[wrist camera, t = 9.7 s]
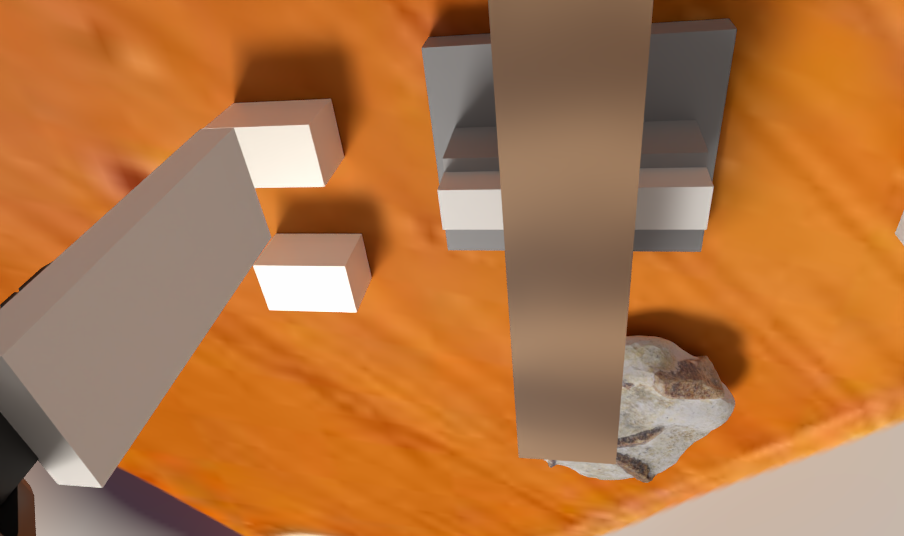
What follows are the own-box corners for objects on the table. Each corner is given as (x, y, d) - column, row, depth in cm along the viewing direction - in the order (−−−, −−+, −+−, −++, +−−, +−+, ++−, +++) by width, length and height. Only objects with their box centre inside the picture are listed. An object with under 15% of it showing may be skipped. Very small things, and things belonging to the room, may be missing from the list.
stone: (624, 471, 41) (628, 516, 39) (507, 417, 40) (503, 460, 37) (752, 370, 34) (767, 416, 32) (616, 300, 33) (620, 342, 30)
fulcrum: (428, 37, 26) (395, 87, 21) (728, 18, 24) (767, 69, 19) (452, 233, 32) (431, 307, 27) (696, 233, 30) (718, 314, 25)
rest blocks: (233, 102, 29) (203, 128, 27) (330, 98, 28) (308, 124, 26) (289, 276, 36) (269, 310, 33) (371, 278, 35) (356, 312, 32)
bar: (499, -94, 18) (483, -74, 14) (645, -110, 17) (660, -91, 14) (524, 387, 29) (518, 457, 26) (611, 391, 28) (615, 464, 25)
